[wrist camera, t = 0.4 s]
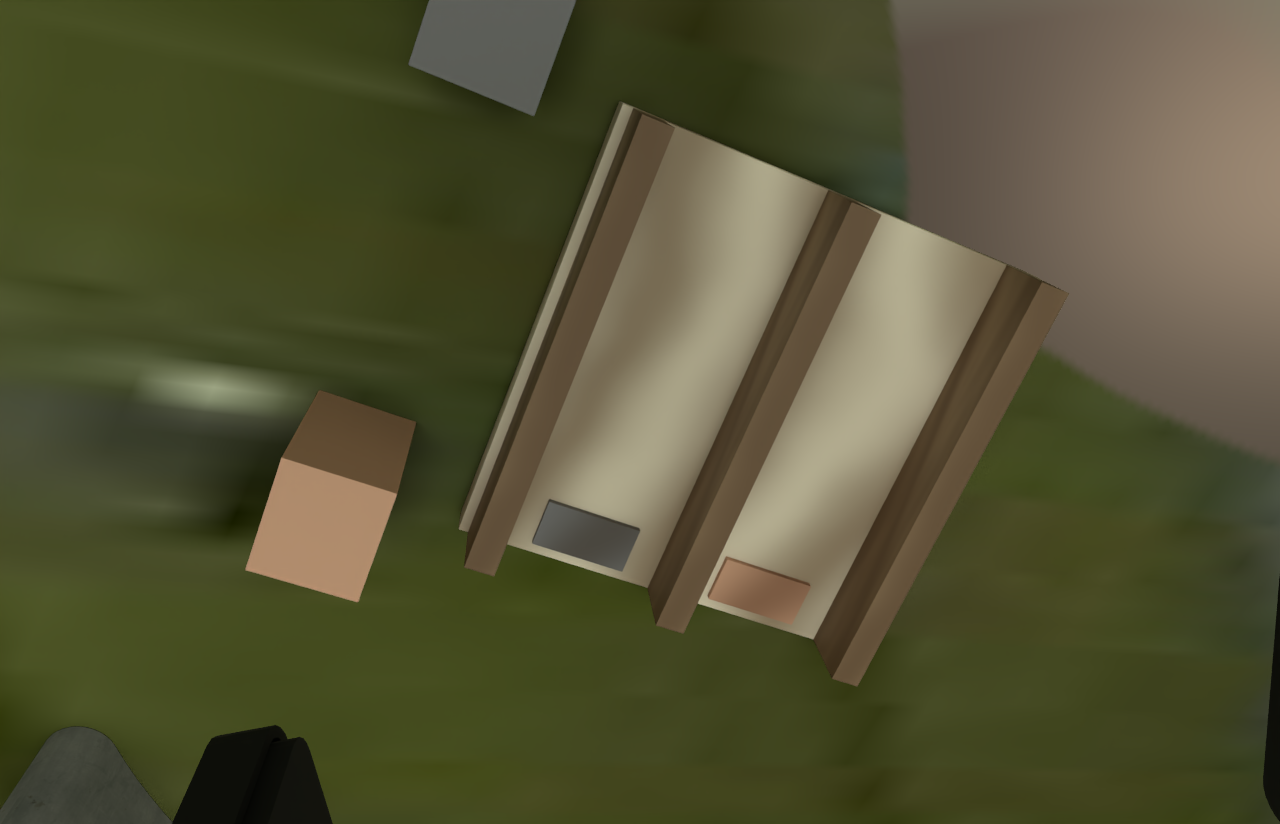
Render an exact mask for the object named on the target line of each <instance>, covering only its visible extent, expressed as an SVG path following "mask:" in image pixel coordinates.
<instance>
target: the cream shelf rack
mask: <svg viewBox="0 0 1280 824" xmlns="http://www.w3.org/2000/svg"><path fill="white" fill-rule="evenodd" d="M1068 295H1069V293H1067V292H1065V291H1063V290H1061V289H1059V288H1056V287H1055V286H1053V285H1051V284H1048V283H1046V282H1044V281H1042V280H1040V279H1039V278H1037V277H1035V276H1033V275H1031V274H1029V273H1027V272H1025V271H1023V270H1020V269H1018V268H1015V267H1013V266H1011V265H1008V264H1006V263H1004V262H1001V261H999V260H996V259H994V258H992V257H989V256H987V255H985V254H982V253H980V252H977V251H975V250H972V249H970V248H968V247H966V246H963V245H961V244H958V243H956V242H954V241H951V240H949V239H946V238H944V237H942V236H939V235H937V234H935V233H932V232H930V231H928V230H925V229H923V228H920V227H918V226H916V225H913V224H911V223H909V222H906V221H904V220H901V219H899V218H897V217H894V216H892V215H890V214H887V213H885V212H882V211H880V210H878V209H875V208H873V207H871V206H868V205H866V204H863V203H861V202H859V201H856V200H854V199H852V198H849V197H847V196H844V195H842V194H840V193H837V192H835V191H833V190H830V189H828V188H825V187H823V186H821V185H818V184H816V183H814V182H811V181H809V180H806V179H804V178H802V177H799V176H797V175H795V174H792V173H790V172H787V171H785V170H783V169H780V168H778V167H776V166H773V165H771V164H768V163H766V162H764V161H761V160H759V159H757V158H754V157H752V156H749V155H747V154H745V153H742V152H740V151H738V150H735V149H733V148H731V147H728V146H726V145H723V144H721V143H719V142H716V141H714V140H712V139H709V138H707V137H704V136H702V135H700V134H697V133H695V132H693V131H690V130H688V129H685V128H683V127H681V126H678V125H676V124H674V123H671V122H669V121H666V120H664V119H662V118H659V117H657V116H655V115H652V114H650V113H647V112H645V111H643V110H640V109H638V108H636V107H633V106H631V105H628V104H626V103H624V102H621V101H619V103H618V106H617V109H616V111H615V114H614V116H613V119H612V122H611V124H610V127H609V129H608V132H607V135H606V137H605V140H604V142H603V145H602V148H601V150H600V153H599V155H598V158H597V160H596V163H595V166H594V168H593V171H592V173H591V176H590V179H589V181H588V184H587V186H586V189H585V192H584V194H583V197H582V199H581V202H580V205H579V207H578V210H577V212H576V215H575V218H574V220H573V223H572V225H571V228H570V231H569V233H568V236H567V238H566V241H565V243H564V246H563V249H562V251H561V254H560V256H559V259H558V262H557V264H556V267H555V269H554V272H553V275H552V277H551V280H550V282H549V285H548V288H547V290H546V293H545V295H544V298H543V301H542V303H541V306H540V308H539V311H538V314H537V316H536V319H535V321H534V324H533V327H532V329H531V332H530V334H529V337H528V339H527V342H526V345H525V347H524V350H523V352H522V355H521V358H520V360H519V363H518V365H517V368H516V371H515V373H514V376H513V378H512V381H511V384H510V386H509V389H508V391H507V394H506V397H505V399H504V402H503V404H502V407H501V410H500V412H499V415H498V417H497V420H496V422H495V425H494V428H493V430H492V433H491V435H490V438H489V441H488V443H487V446H486V448H485V451H484V454H483V456H482V459H481V461H480V464H479V467H478V469H477V472H476V474H475V477H474V480H473V482H472V485H471V487H470V490H469V493H468V495H467V498H466V500H465V503H464V506H463V508H462V511H461V514H460V522H459V529H460V530H463V531H466V532H468V536H467V545H466V555H465V564H464V567H465V568H468V569H472V570H475V571H478V572H481V573H485V574H488V575H491V576H494V575H495V573H496V570H497V568H498V565H499V563H500V560H501V558H502V555H503V553H504V550H505V548H506V545H507V544H508V545H511V546H515V547H518V548H521V549H524V550H527V551H531V552H534V553H537V554H540V555H544V556H547V557H550V558H553V559H556V560H560V561H563V562H566V563H569V564H572V565H576V566H579V567H582V568H585V569H589V570H592V571H595V572H598V573H601V574H605V575H608V576H611V577H614V578H618V579H621V580H624V581H627V582H630V583H634V584H637V585H640V586H643V587H646V588H648V592H649V597H650V601H651V605H652V610H653V614H654V619H655V623H656V626H660V627H663V628H666V629H670V630H673V631H676V632H680V633H684V631H685V629H686V627H687V625H688V623H689V621H690V619H691V616H692V614H693V612H694V610H695V608H696V606H697V604H701V605H704V606H708V607H711V608H714V609H717V610H720V611H724V612H727V613H730V614H733V615H736V616H740V617H743V618H746V619H749V620H753V621H756V622H759V623H762V624H765V625H769V626H772V627H775V628H778V629H782V630H785V631H788V632H791V633H794V634H798V635H801V636H804V637H807V638H810V639H813V640H814V642H815V644H816V646H817V648H818V650H819V652H820V654H821V657H822V659H823V661H824V663H825V665H826V667H827V669H828V671H829V673H830V675H831V677H832V679H835V680H838V681H841V682H845V683H848V684H851V685H855V686H858V684H859V682H860V680H861V678H862V677H863V675H864V673H865V671H866V669H867V667H868V666H869V664H870V662H871V660H872V658H873V656H874V654H875V653H876V651H877V649H878V647H879V645H880V643H881V641H882V640H883V638H884V636H885V634H886V632H887V630H888V628H889V627H890V625H891V623H892V621H893V619H894V617H895V615H896V614H897V612H898V610H899V608H900V606H901V604H902V602H903V601H904V599H905V597H906V595H907V593H908V591H909V589H910V588H911V586H912V584H913V582H914V580H915V578H916V577H917V575H918V573H919V571H920V569H921V567H922V565H923V564H924V562H925V560H926V558H927V556H928V554H929V552H930V551H931V549H932V547H933V545H934V543H935V541H936V539H937V538H938V536H939V534H940V532H941V530H942V528H943V526H944V525H945V523H946V521H947V519H948V517H949V515H950V513H951V512H952V510H953V508H954V506H955V504H956V502H957V500H958V499H959V497H960V495H961V493H962V491H963V489H964V488H965V486H966V484H967V482H968V480H969V478H970V476H971V475H972V473H973V471H974V469H975V467H976V465H977V463H978V462H979V460H980V458H981V456H982V454H983V452H984V450H985V449H986V447H987V445H988V443H989V441H990V439H991V437H992V436H993V434H994V432H995V430H996V428H997V426H998V424H999V423H1000V421H1001V419H1002V417H1003V415H1004V413H1005V411H1006V410H1007V408H1008V406H1009V404H1010V402H1011V400H1012V399H1013V397H1014V395H1015V393H1016V391H1017V389H1018V387H1019V386H1020V384H1021V382H1022V380H1023V378H1024V376H1025V374H1026V373H1027V371H1028V369H1029V367H1030V365H1031V363H1032V361H1033V360H1034V358H1035V356H1036V354H1037V352H1038V350H1039V348H1040V347H1041V345H1042V343H1043V341H1044V339H1045V337H1046V335H1047V334H1048V332H1049V330H1050V328H1051V326H1052V324H1053V322H1054V321H1055V319H1056V317H1057V315H1058V313H1059V311H1060V310H1061V308H1062V306H1063V304H1064V302H1065V300H1066V298H1067V296H1068Z"/></svg>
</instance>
